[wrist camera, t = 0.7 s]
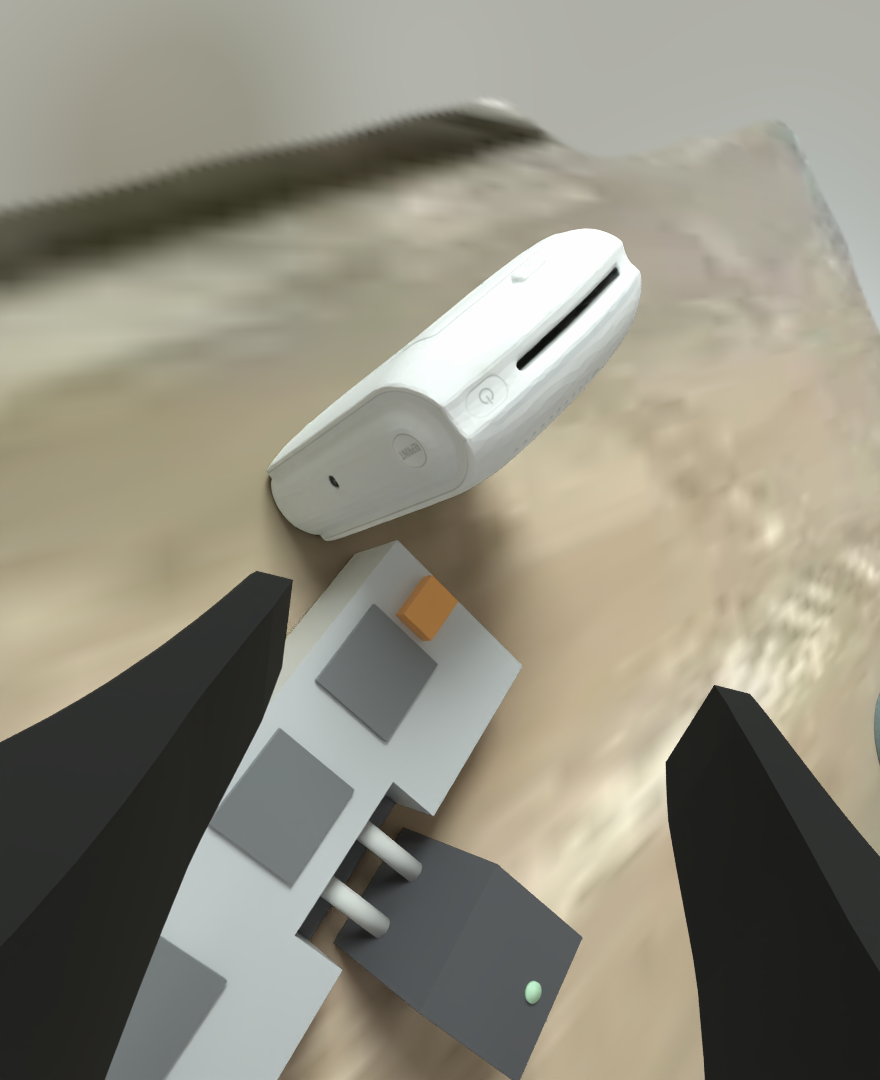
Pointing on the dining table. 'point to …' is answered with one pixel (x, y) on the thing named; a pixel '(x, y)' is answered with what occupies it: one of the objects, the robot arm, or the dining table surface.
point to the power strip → (311, 816)
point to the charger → (457, 943)
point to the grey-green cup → (877, 727)
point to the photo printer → (463, 390)
